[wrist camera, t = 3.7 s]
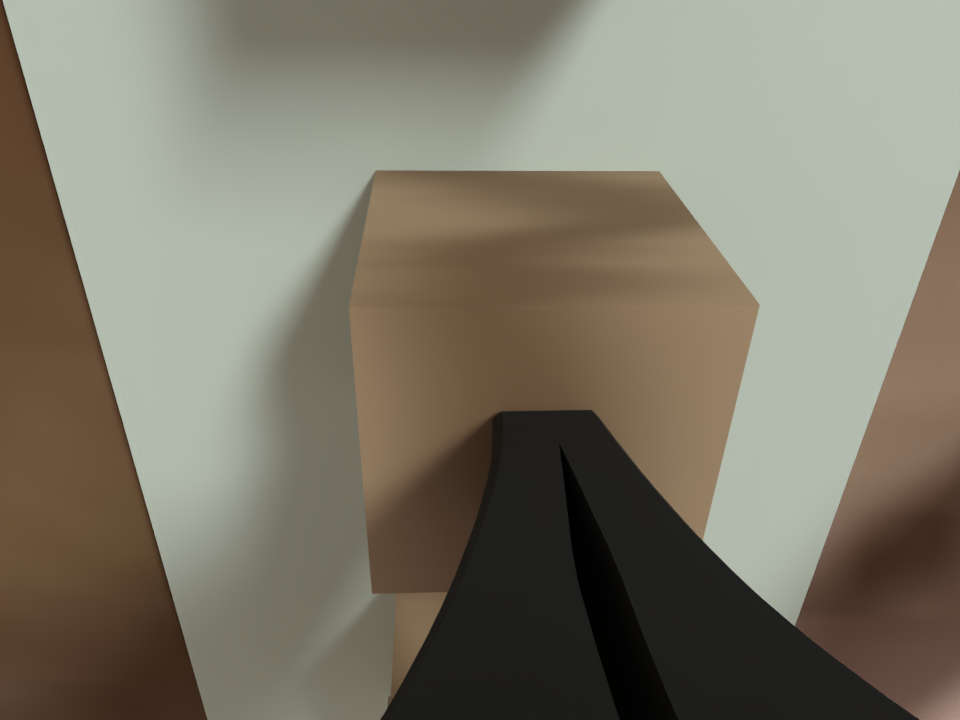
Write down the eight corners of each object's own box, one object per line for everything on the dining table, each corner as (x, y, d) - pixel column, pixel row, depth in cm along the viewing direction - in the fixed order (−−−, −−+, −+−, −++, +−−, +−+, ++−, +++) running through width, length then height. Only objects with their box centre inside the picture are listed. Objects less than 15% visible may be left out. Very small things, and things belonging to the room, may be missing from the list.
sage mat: (1381, -1077, 8) (1424, -1121, 7) (750, 723, 24) (755, 736, 23) (-327, -1238, 7) (-367, -1297, 6) (220, 742, 23) (217, 755, 22)
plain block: (659, 171, 14) (759, 305, 9) (625, 401, 16) (691, 585, 12) (375, 170, 13) (348, 307, 9) (388, 404, 16) (372, 593, 12)
